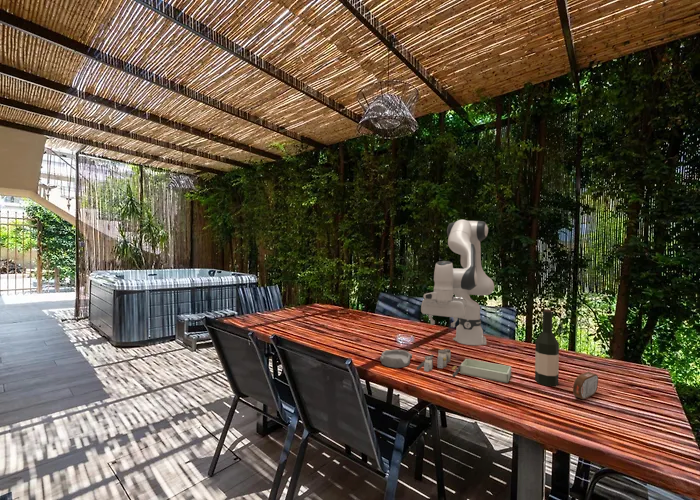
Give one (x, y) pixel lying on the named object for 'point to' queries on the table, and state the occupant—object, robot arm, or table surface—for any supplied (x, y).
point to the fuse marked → (443, 354)
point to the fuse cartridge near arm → (448, 354)
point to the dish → (395, 358)
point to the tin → (585, 385)
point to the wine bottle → (547, 354)
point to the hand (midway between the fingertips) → (442, 325)
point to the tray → (486, 370)
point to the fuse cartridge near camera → (429, 361)
